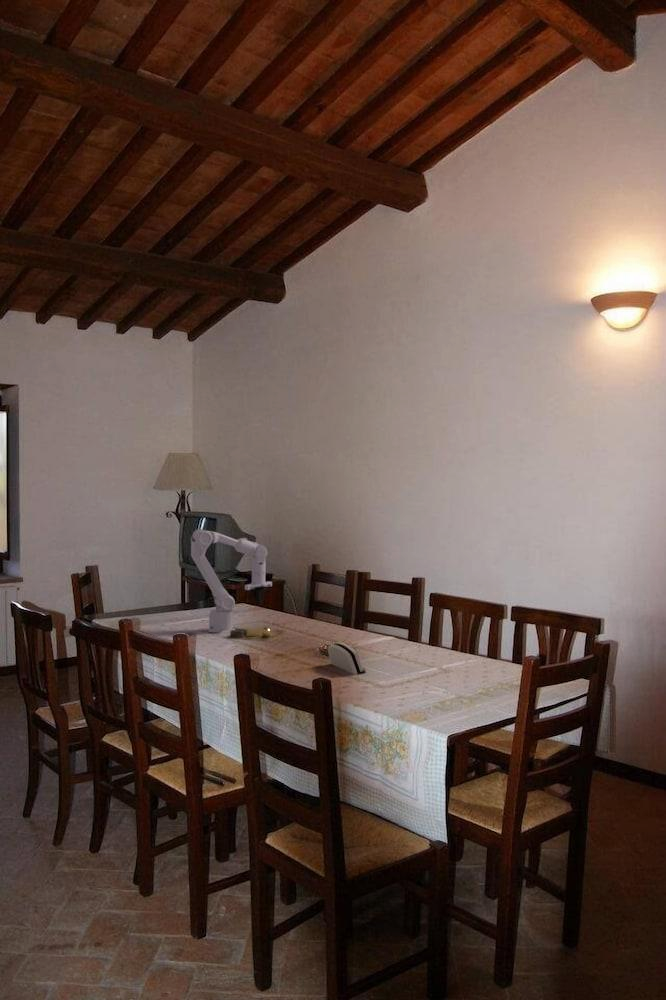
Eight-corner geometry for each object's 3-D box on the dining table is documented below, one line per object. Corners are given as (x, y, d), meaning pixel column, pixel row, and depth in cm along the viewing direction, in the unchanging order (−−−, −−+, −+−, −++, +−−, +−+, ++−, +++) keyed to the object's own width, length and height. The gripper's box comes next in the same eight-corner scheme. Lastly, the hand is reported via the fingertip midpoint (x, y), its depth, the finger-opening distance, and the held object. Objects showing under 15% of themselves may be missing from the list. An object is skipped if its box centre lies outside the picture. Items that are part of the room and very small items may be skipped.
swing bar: (271, 635, 332) (271, 627, 332) (268, 637, 329) (268, 628, 329) (237, 633, 335) (237, 625, 335) (234, 634, 332) (234, 626, 332)
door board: (225, 641, 327) (226, 632, 327) (242, 630, 350) (242, 621, 350) (273, 644, 324) (273, 635, 324) (286, 633, 347) (286, 624, 347)
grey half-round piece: (367, 673, 283) (359, 646, 281) (355, 679, 281) (347, 652, 279) (342, 662, 298) (335, 636, 296) (331, 667, 296) (324, 642, 294)
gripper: (253, 575, 343) (253, 608, 344) (277, 572, 355) (277, 603, 355) (241, 574, 348) (241, 606, 349) (265, 570, 359) (265, 602, 360)
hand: (258, 605), depth 352 cm, fingers closed
